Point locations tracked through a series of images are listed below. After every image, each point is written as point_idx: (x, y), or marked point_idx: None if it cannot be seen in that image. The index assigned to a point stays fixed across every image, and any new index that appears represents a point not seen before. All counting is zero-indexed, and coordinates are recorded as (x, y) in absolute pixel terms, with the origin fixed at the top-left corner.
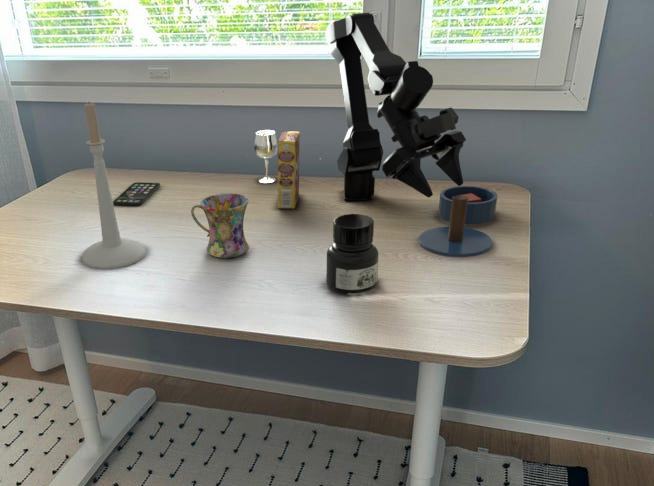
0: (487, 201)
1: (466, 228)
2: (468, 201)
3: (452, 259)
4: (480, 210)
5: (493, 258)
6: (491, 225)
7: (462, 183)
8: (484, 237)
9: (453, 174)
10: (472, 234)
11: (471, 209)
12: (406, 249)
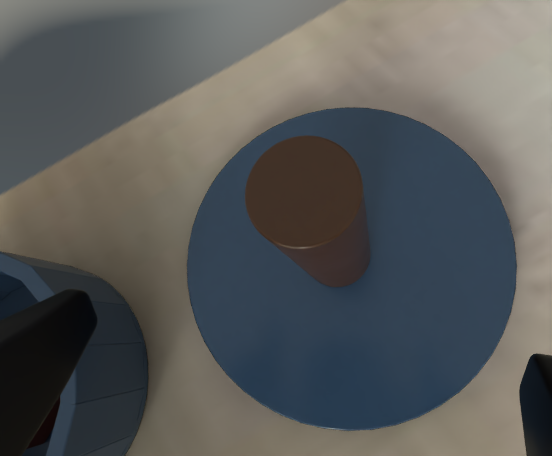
0: (6, 262)
1: (197, 281)
2: None
3: None
4: (65, 278)
5: (358, 84)
6: (80, 253)
7: (83, 290)
8: (245, 174)
9: (5, 409)
10: (243, 227)
11: None
12: None
